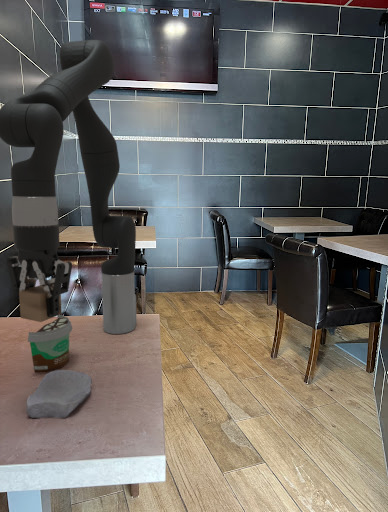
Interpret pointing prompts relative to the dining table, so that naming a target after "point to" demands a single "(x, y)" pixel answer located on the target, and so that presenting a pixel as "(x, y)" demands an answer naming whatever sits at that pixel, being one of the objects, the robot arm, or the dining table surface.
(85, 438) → the dining table surface
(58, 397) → the stone block
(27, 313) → the walnut block
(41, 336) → the food container
